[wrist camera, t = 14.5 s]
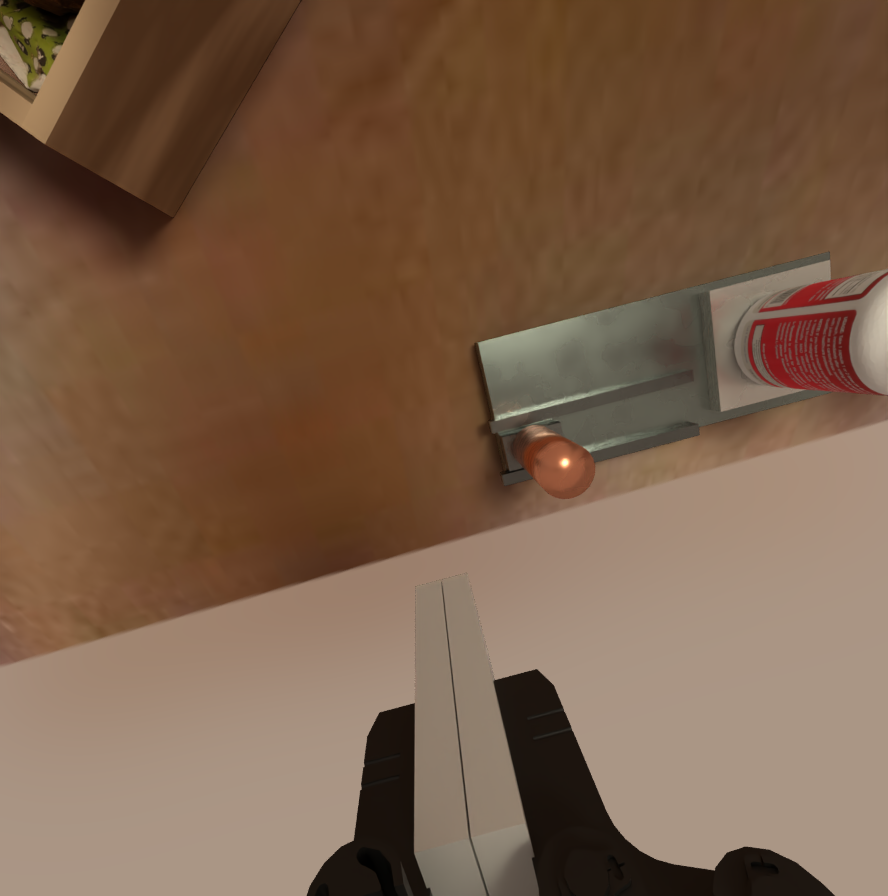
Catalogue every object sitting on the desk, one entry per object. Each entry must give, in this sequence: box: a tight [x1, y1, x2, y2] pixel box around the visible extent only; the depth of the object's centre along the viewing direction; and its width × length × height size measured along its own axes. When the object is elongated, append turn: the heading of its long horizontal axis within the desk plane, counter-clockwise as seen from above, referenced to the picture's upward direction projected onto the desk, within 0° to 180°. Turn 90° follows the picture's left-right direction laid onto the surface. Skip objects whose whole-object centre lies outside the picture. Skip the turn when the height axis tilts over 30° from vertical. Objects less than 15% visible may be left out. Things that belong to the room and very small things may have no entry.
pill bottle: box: [734, 269, 888, 396], centre depth 22 cm, size 6×6×11 cm
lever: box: [499, 420, 595, 499], centre depth 25 cm, size 4×3×7 cm
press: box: [475, 252, 832, 486], centre depth 21 cm, size 30×10×17 cm, turn 104°
